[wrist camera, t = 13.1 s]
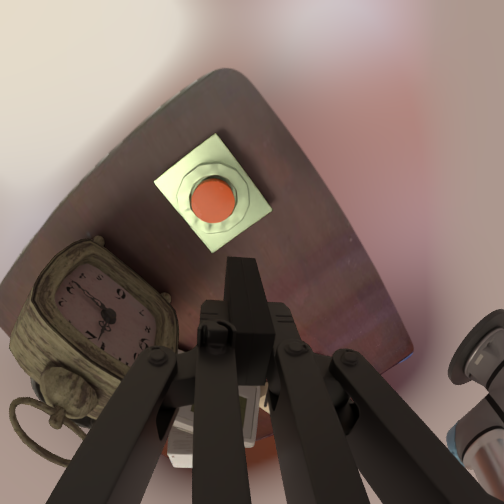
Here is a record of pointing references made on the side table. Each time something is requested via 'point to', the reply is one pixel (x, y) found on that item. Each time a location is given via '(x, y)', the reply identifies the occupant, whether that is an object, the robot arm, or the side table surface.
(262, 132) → the side table surface
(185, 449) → the product box
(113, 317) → the tabletop clock
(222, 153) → the button block
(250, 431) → the digital clock
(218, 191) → the push button
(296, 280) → the side table surface
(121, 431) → the robot arm
